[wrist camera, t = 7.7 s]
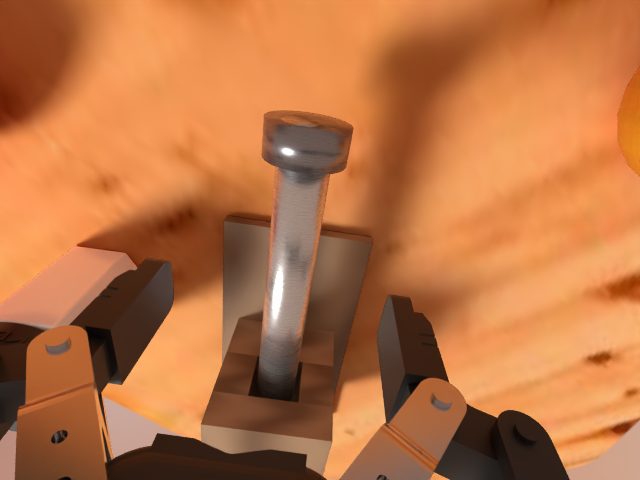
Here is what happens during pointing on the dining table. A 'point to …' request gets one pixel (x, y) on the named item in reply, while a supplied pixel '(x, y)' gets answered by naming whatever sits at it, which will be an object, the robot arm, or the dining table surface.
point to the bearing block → (316, 351)
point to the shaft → (294, 234)
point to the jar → (59, 294)
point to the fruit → (630, 123)
